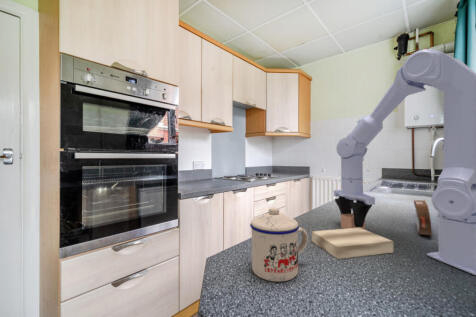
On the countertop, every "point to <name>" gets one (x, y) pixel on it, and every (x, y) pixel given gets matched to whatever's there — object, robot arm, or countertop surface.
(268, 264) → the teacup with lid
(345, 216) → the block
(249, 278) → the countertop surface
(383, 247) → the base
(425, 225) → the brown curved slab
